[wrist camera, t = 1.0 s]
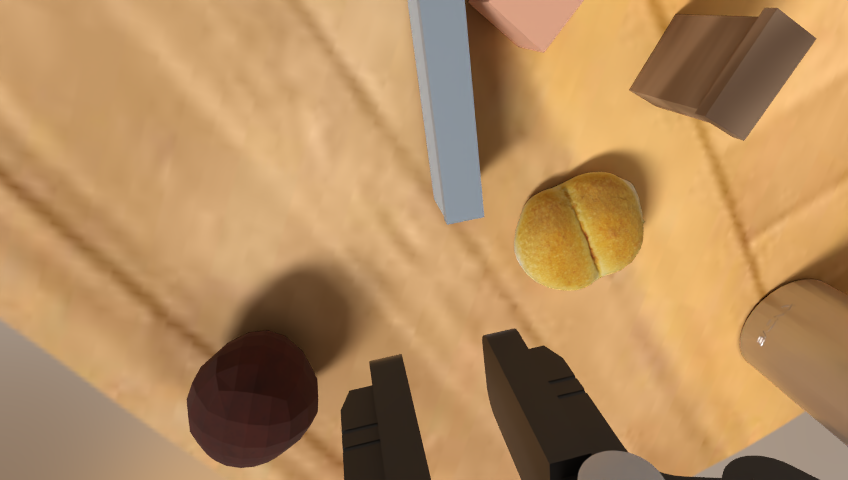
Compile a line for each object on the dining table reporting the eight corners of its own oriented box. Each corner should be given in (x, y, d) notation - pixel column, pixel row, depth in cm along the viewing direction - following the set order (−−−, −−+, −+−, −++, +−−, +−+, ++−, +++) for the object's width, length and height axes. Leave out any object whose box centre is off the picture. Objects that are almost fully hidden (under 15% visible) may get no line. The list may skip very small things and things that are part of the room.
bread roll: (494, 207, 35) (514, 230, 31) (613, 151, 35) (647, 168, 31) (529, 298, 39) (551, 328, 35) (637, 248, 38) (670, 273, 35)
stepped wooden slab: (708, 31, 32) (816, 38, 25) (656, 112, 34) (744, 140, 27) (675, 7, 31) (777, 8, 24) (623, 92, 33) (705, 116, 26)
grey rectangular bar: (398, -51, 27) (411, -60, 23) (438, -56, 27) (458, -66, 23) (432, 198, 33) (447, 224, 29) (464, 192, 33) (484, 217, 30)
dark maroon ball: (194, 407, 37) (165, 499, 30) (209, 297, 33) (181, 373, 27) (306, 416, 39) (304, 504, 32) (331, 313, 36) (334, 388, 29)
